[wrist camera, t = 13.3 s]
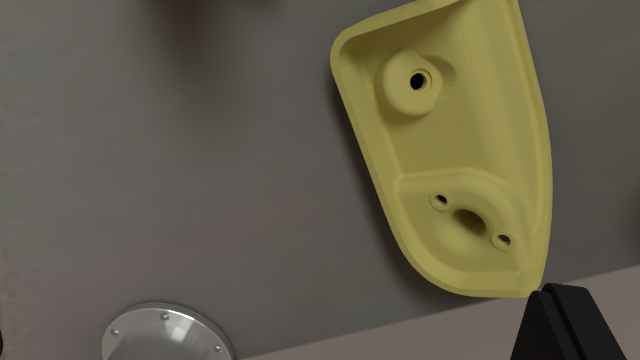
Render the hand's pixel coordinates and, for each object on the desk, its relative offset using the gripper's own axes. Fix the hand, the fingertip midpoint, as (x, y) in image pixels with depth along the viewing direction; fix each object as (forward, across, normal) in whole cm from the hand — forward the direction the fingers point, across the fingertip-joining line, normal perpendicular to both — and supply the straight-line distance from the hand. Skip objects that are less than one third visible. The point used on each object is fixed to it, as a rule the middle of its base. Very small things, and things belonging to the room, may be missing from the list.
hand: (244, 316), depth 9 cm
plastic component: (+30, -8, +7) cm, 32 cm away
